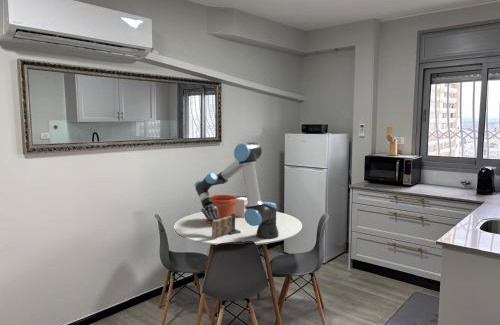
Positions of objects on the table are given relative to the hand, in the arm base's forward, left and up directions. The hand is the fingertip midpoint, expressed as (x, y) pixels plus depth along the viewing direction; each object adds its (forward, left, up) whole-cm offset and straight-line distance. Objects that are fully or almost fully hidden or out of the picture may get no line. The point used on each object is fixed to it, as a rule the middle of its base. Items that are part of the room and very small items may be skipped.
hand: (217, 228), depth 247 cm
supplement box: (+10, -59, -6) cm, 60 cm away
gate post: (-5, -13, -5) cm, 15 cm away
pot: (+17, -35, -6) cm, 39 cm away
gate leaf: (-3, -2, -4) cm, 5 cm away
